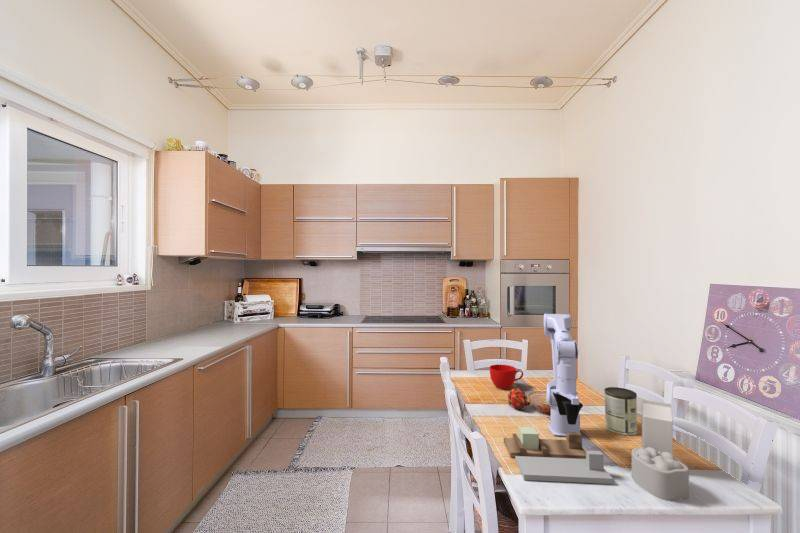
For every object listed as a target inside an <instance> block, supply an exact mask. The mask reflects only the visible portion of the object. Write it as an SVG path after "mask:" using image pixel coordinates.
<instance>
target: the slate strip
mask: <svg viewBox="0 0 800 533" xmlns="http://www.w3.org/2000/svg"><path fill="white" fill-rule="evenodd" d="M585 452H586V459H575V458H551V457H527V456H515V457H514V458H515V461H514V462H515V463H516V465H517V468H518V470H519V472H520V474H521V476H522V479H523V481H535V482H536V481H538V482H541V481H542V482H560V483H561V482H562V483H579V484H580V483H582V484H602V485H613V484H614V478H613V477H612V476H611V475H610V474H609V473H608V471H607V470H606V469H605V468H604V466H605V464H604V463H605V462H604V461H605V460H604V459H605V458H604V456H605V455H604V454H603V452H602V451H601V450H585Z"/></svg>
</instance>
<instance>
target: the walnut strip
mask: <svg viewBox="0 0 800 533" xmlns="http://www.w3.org/2000/svg"><path fill="white" fill-rule="evenodd" d="M566 435H567V436H566V439H549V438H548V439H547V438H540V437H539V450H532V449H524V447H523V446H522V444H521V442H520V440H519V435H517V433H512V437H503V444H504V446H505V448H506V450H507V452H508V454H509V457H510V458H515V456H527V457H551V458H575V459H586V450H584V448H583V446H582V445H583V440H582V439H583V435H582V434H581V432H580V433H579V432H566Z"/></svg>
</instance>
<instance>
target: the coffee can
mask: <svg viewBox="0 0 800 533" xmlns="http://www.w3.org/2000/svg"><path fill="white" fill-rule="evenodd" d="M603 390H604V416H605V418H604V421H605V422H604V424H605V425H604V426H605V428H606V429H607V431H610V432H611V433H615V434H619V435H621V436H622V435H623V436H636V435H637V433H638V422H637V421H638V420H637V419H638V415H637V414H638V413H637V411H638V410H637V409H638V408H637V406H638V405H637V396H638V394H637V392H635V391H634V390H631V389H628V388H624V387H617V386H609V387H605V388H604V389H603Z"/></svg>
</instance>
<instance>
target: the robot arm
mask: <svg viewBox="0 0 800 533" xmlns="http://www.w3.org/2000/svg"><path fill="white" fill-rule="evenodd" d="M572 324H573V321H572V316H571V314H569V313H566V314H564V313H544V314H543V328H544V329H543V333H544V335H545V336H546V337H547V338H548V339H549V341H550V344H551V358H552V372H553V373H552V375H553V379H552V380H550V381H549V382H547V384H546V392H545V394H546V396H545V397H546V398H545V399H546V404H547V406H550V424H547V425H546V427H547V428H548V430H549V432H551V434H552V435H553V436H555V437H567V435H566V432H579V433H580V434H581V415H580V411H581V410H582V409H583V406H584V405H583V403H582V402H580V398H579V397H578V391H577V359H578V358H579V344H578V342H577V340H574V339H573V336H572V332H571V331H572V330H571V329H572V327H573V325H572Z"/></svg>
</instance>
